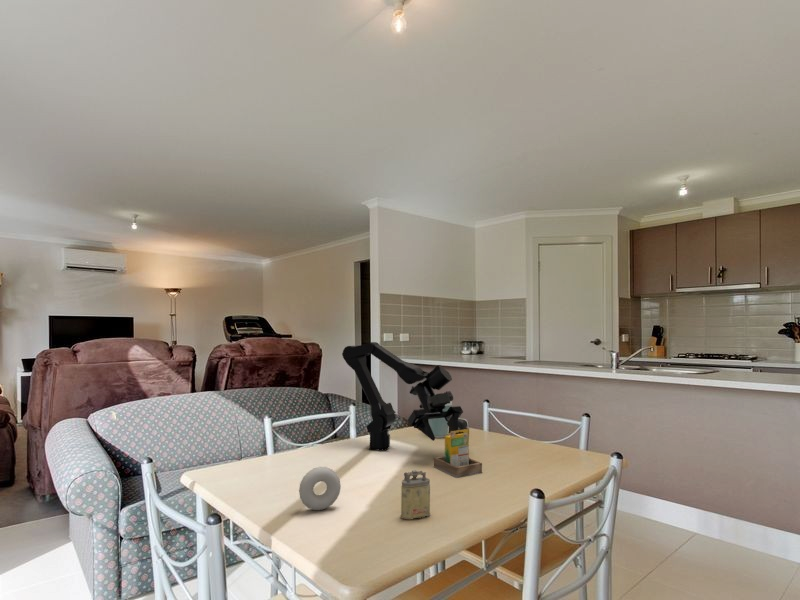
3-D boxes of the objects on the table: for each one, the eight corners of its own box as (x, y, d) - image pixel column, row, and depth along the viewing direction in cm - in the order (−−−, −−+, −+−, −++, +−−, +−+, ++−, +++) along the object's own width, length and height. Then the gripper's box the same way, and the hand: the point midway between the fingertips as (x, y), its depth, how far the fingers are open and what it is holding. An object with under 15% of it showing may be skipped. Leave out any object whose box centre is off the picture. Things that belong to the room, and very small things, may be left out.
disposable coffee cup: (423, 438, 180) (423, 399, 181) (427, 432, 190) (428, 395, 191) (450, 440, 177) (450, 400, 178) (453, 433, 188) (453, 396, 189)
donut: (338, 504, 113) (338, 462, 114) (342, 509, 110) (342, 466, 111) (297, 510, 110) (298, 467, 110) (300, 515, 106) (300, 471, 107)
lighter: (426, 510, 110) (426, 468, 110) (433, 517, 106) (433, 472, 107) (398, 515, 107) (398, 471, 108) (404, 521, 104) (405, 476, 104)
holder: (456, 477, 134) (456, 467, 134) (433, 466, 144) (433, 457, 144) (482, 472, 138) (481, 463, 139) (458, 462, 149) (458, 453, 149)
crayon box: (463, 464, 144) (463, 427, 145) (469, 467, 142) (469, 428, 142) (444, 468, 141) (444, 429, 141) (450, 470, 138) (450, 431, 139)
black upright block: (446, 451, 162) (447, 418, 162) (453, 449, 165) (453, 416, 165) (463, 455, 157) (463, 421, 158) (469, 453, 160) (469, 419, 160)
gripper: (413, 384, 147) (431, 426, 137) (460, 381, 156) (481, 420, 146) (400, 405, 154) (417, 447, 144) (446, 401, 163) (465, 440, 153)
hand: (446, 438), depth 146 cm, fingers open, 9 cm apart
